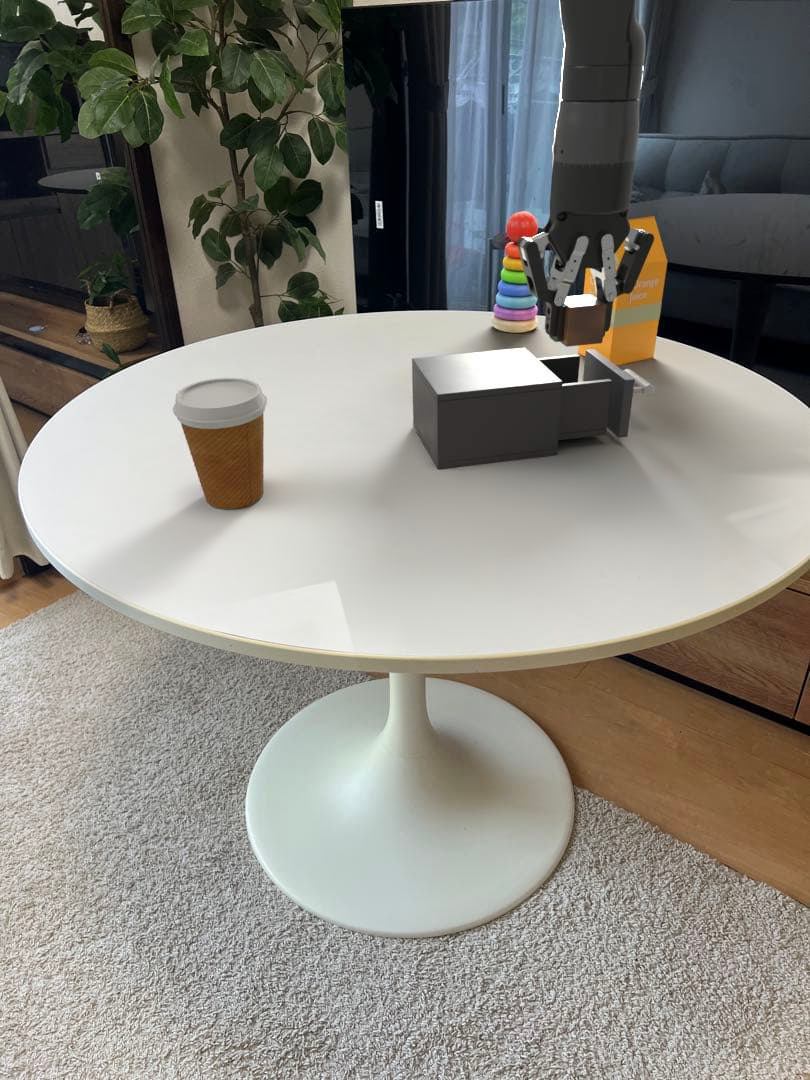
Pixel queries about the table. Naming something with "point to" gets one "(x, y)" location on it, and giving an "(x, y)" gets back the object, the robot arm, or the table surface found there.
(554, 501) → the table surface
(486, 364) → the cabinet
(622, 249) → the orange juice
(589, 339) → the block
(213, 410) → the disposable coffee cup
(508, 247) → the stacking toy
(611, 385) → the drawer
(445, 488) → the table surface
